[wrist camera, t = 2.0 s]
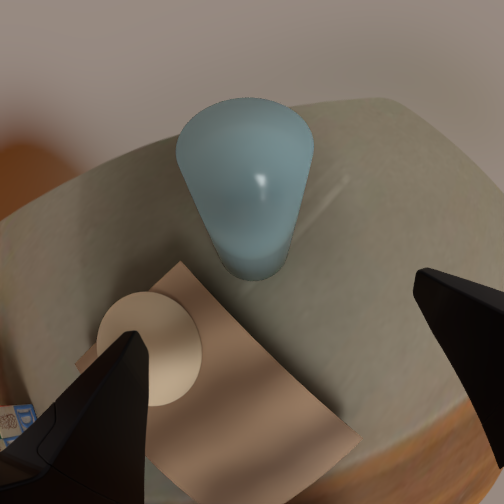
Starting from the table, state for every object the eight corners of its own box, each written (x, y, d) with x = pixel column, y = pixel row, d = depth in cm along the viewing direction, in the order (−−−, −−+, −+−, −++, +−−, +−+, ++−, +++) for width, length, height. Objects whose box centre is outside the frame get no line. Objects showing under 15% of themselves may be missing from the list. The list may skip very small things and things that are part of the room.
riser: (350, 427, 17) (364, 439, 14) (240, 512, 15) (237, 532, 11) (183, 263, 22) (170, 249, 19) (88, 354, 19) (66, 353, 16)
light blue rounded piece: (302, 247, 22) (340, 142, 10) (252, 295, 21) (240, 228, 9) (254, 203, 23) (246, 84, 12) (204, 246, 22) (151, 145, 10)
